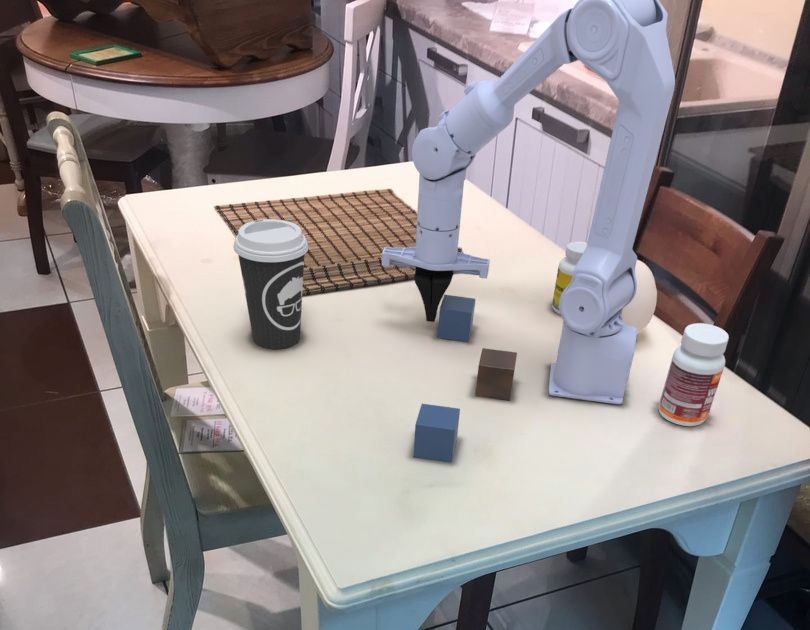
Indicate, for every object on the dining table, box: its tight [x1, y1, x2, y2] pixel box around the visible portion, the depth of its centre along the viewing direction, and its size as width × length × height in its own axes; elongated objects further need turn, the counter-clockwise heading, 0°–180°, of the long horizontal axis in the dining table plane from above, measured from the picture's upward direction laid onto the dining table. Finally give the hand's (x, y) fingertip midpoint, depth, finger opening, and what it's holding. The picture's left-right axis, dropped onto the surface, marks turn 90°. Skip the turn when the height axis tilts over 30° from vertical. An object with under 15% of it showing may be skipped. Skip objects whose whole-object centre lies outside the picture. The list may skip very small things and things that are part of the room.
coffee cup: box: [233, 218, 309, 350], centre depth 111 cm, size 10×10×15 cm
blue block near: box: [412, 403, 461, 463], centre depth 96 cm, size 4×4×4 cm
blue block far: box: [436, 294, 477, 343], centre depth 118 cm, size 4×4×4 cm
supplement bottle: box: [551, 241, 588, 315], centre depth 124 cm, size 5×5×10 cm
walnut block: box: [474, 347, 518, 401], centre depth 107 cm, size 4×4×4 cm
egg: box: [622, 259, 658, 335], centre depth 117 cm, size 9×9×12 cm
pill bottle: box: [658, 322, 730, 427], centre depth 102 cm, size 6×6×11 cm
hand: (431, 318), depth 119 cm, fingers closed
